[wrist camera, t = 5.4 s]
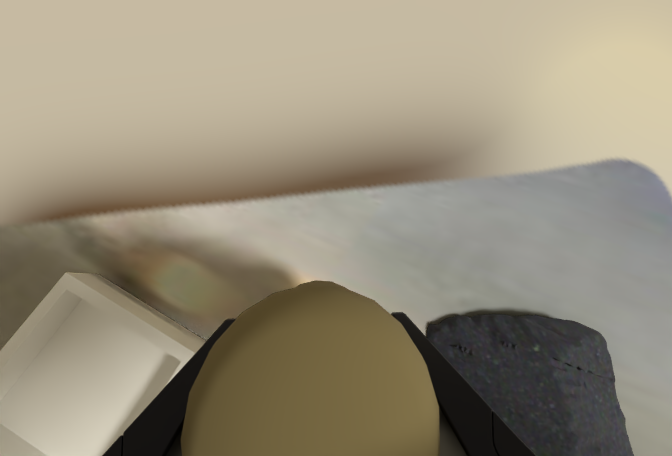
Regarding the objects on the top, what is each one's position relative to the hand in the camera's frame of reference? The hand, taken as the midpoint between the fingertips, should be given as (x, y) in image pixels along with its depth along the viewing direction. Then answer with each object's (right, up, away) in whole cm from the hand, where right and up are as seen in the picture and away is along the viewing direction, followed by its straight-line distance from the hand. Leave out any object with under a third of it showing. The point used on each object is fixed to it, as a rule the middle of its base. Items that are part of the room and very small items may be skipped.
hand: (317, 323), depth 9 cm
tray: (-15, -7, +9) cm, 19 cm away
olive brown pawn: (0, -3, +6) cm, 7 cm away
